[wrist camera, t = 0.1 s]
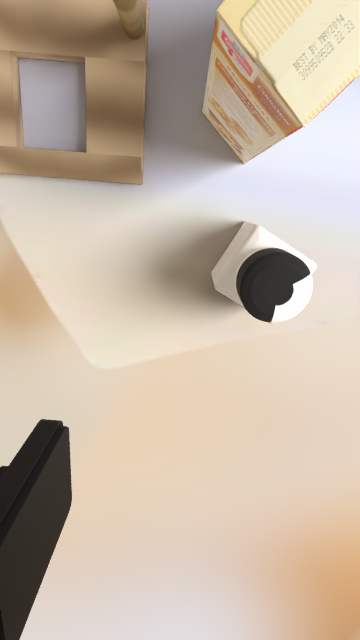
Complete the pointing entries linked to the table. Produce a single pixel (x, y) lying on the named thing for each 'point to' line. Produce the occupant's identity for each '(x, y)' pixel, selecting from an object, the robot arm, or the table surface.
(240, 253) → the medicine bottle
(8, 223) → the table surface
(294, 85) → the coffeecake box
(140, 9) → the square wooden frame
